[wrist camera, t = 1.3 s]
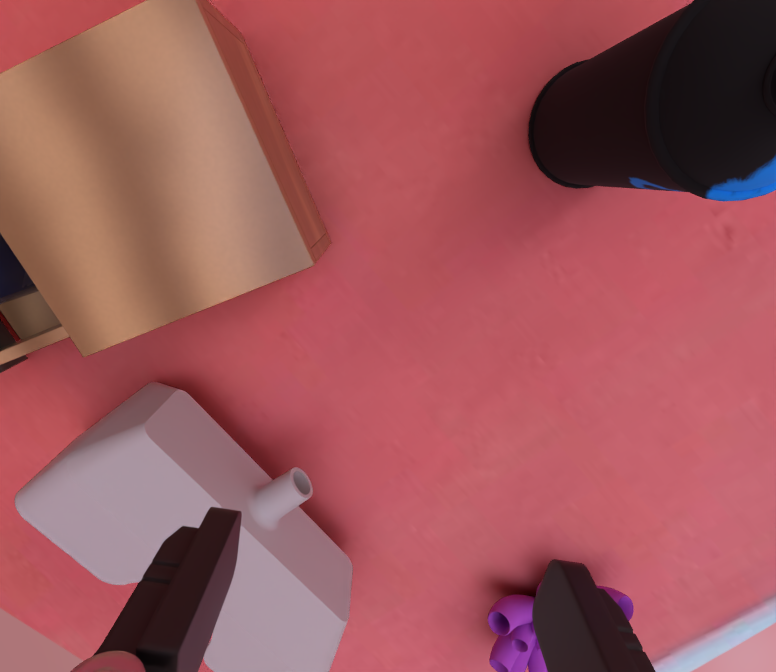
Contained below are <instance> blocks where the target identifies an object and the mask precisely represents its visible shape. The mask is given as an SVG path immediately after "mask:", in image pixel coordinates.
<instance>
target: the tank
mask: <svg viewBox="0 0 776 672" xmlns="http://www.w3.org/2000/svg"><path fill="white" fill-rule="evenodd" d="M312 494H313V488H312V484H311V481H310V479H309V477H308V476H307V474H306V473H305V472H304V471H303V470H302V469H300V468H298V467H294V468H292V469H291V470H289V471H287V472H286V473H284V474H282V475H281V476H279V477H277V478H276V479H274V480H272V479H271V478H270V477H269V476H268V474H267V473H266V472H265V471H264V470H263V469H262V468H261V467H260V466H259V465H258V464H257V463H256V462H255V461H254V460H253V459H252V458H251V457H250V456H249V455H248V454H247V453H246V452H245V451H244V450H243V449H242V448H241V447H240V446H239V445H238V444H237V443H236V442H235V441H234V440H233V439H232V438H231V437H230V436H229V435H228V434H227V433H226V432H225V431H224V430H223V429H222V428H221V427H220V426H219V425H218V424H217V423H216V421H215V420H214V419H213V418H212V417H211V416H210V415H209V414H208V413H207V412H206V411H205V410H204V409H203V408H202V407H201V406H200V405H199V404H198V403H197V402H196V401H195V400H194V399H193V398H192V397H191V396H190V395H189V394H188V393H187V392H185V391H183V390H180V389H177V388H174V387H171V386H168V385H165V384H162V383H159V382H150V383H148V384H147V385H145V386H144V387H143V388H141V389H140V390H139V391H137V392H136V393H135V394H133V395H132V396H131V397H129V398H128V399H127V400H126V401H124V402H123V403H122V404H120V405H119V406H118V407H116V408H115V409H114V410H112V411H111V412H110V413H108V414H107V415H106V416H105V417H103V418H102V419H101V420H99V421H98V422H97V423H95V424H94V425H93V426H91V427H90V428H89V429H87V430H86V431H85V432H84V433H82V434H81V435H80V436H78V437H77V438H76V439H75V440H74V441H72V442H71V443H70V444H69V445H68V446H67V447H66V448H65V449H64V450H63V451H62V452H61V453H59V454H58V455H57V456H56V457H55V458H54V459H53V460H52V461H51V462H50V463H49V464H47V465H46V466H45V467H44V468H43V469H42V470H41V471H40V472H39V473H38V474H37V475H36V476H34V477H33V478H32V479H31V480H30V481H29V482H28V483H27V484H26V485H25V486H24V487H23V488H21V489H20V490H19V491H18V492H17V494H16V496H15V506H16V509H17V511H18V512H19V514H20V515H21V516H22V517H23V518H24V519H25V520H26V521H27V522H28V523H30V524H31V525H32V526H33V527H35V528H36V529H37V530H38V531H40V532H41V533H42V534H43V535H45V536H46V537H47V538H48V539H50V540H51V541H52V542H53V543H55V544H56V545H57V546H58V547H60V548H61V549H62V550H63V551H65V552H66V553H67V554H68V555H70V556H71V557H72V558H73V559H75V560H76V561H77V562H78V563H79V564H81V565H82V566H83V567H84V568H86V569H87V570H88V571H89V572H91V573H92V574H93V575H94V576H96V577H97V578H98V579H100V580H101V581H103V582H106V583H109V584H114V585H124V584H129V583H135V582H140V581H141V580H142V578H143V575H144V573H145V572H146V570H147V568H148V567H149V565H150V564H151V563H152V560H153V558H154V557H155V555H156V553H157V552H158V550H159V548H160V547H161V545H162V543H163V542H164V541H165V540H166V539H167V538H168V537H170V536H171V535H172V534H173V533H174V532H176V531H177V530H178V529H179V528H181V527H182V526H188V527H195V528H199V527H200V525H201V523H202V521H203V519H204V517H205V515H206V514H207V512H208V510H209V509H210V507H218V508H224V509H231V510H237V511H241V512H242V518H241V527H240V537H239V546H238V556H237V562H236V567H235V571H234V575H233V579H232V582H231V585H230V588H229V590H228V593H227V596H226V598H225V601H224V604H223V606H222V609H221V612H220V614H219V617H218V620H217V622H216V625H215V628H214V630H213V635H212V639H211V641H210V642H209V644H208V646H207V649H206V651H205V654H204V661H205V663H206V665H207V666H208V667H209V668H210V669H212V670H213V671H214V672H329V670H330V668H331V665H332V662H333V660H334V657H335V654H336V651H337V649H338V646H339V643H340V640H341V638H342V635H343V632H344V630H345V627H346V624H347V621H348V619H349V611H350V598H351V586H352V574H353V566H352V563H351V561H350V559H349V557H348V556H347V555H346V554H345V553H344V552H343V551H342V550H341V549H340V548H339V547H338V546H337V545H336V544H335V543H334V542H333V541H332V540H331V539H330V538H329V537H328V536H327V535H326V534H325V533H324V532H323V531H322V530H321V529H320V528H319V526H318V525H317V524H316V523H315V522H314V521H313V520H312V519H311V518H310V517H309V516H308V515H307V514H306V513H305V512H304V511H303V510H302V509H301V508H300V507H299V505H300V504H302V503H303V502H305V501H306V500H308V499H309V498H310V497H311V496H312Z"/></svg>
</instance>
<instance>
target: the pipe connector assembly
mask: <svg viewBox="0 0 776 672" xmlns="http://www.w3.org/2000/svg"><path fill="white" fill-rule="evenodd" d="M541 582H542V581H541ZM541 582H540V584H539V585H538V587H537V592H538V590H539V587H540V585H541ZM596 587H597V588H601V589H604V590H605V591H606V592H607V593H608V594H609V595H610V596H611V597H612V598H613V600H614V601H615V602H616V603H617V604H618V605H619V606H620V607H621V608H622V610H623V612H624V614H625V616H626V618H627V620H628V621H629V620H630V619H631V617H632V615H633V603H632V601H631V599H630V598H629V597H628V596H627V595H625V594H623V593H621V592H619V591H617V590H614V589H612V588H608V587H604V586H596ZM537 592H536V595H537ZM534 600H535V597H532V596H526V595H510V596H506V597H503V598H501V599H500V600H499V601H497V602H496V603H495V604H494V605H493V607H492V608H491V610H490V612H489V614H488V624H489V626H490V628H491V629H492V631H493V632H494V633H496V634H498V635H499V636H498V638H497V640H496V642H495V644H494V646H493V649H492V652H491V655H490V664H491V666H492V667H493V668H494V669H495V670H496V671H498V672H525V670H526V668H527V665H528V669H529V672H548V671H547V667H546V664H545V661H544V658H543V655H542V652H541V649H540V646H539V643H538V640H537V637H536V633H535V630H534V626H533V619H532V609H533V603H534Z"/></svg>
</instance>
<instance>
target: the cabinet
mask: <svg viewBox="0 0 776 672" xmlns="http://www.w3.org/2000/svg"><path fill="white" fill-rule="evenodd" d="M0 233H1V235H2V236H3V238H4V239H5V241H6V242H7V244H8V245H9V247H10V248H11V250H12V251H13V253H14V254H15V256H16V257H17V259H18V260H19V262H20V263H21V265H22V266H23V268H24V269H25V271H26V272H27V274H28V275H29V277H30V278H31V280H32V281H33V283H34V284H35V286H36V287H37V289H38V290H39V292H40V293H41V295H42V296H43V298H44V299H45V301H46V302H47V304H48V305H49V307H50V308H51V310H52V311H53V313H54V314H55V316H56V317H57V319H58V320H59V322H60V323H61V325H62V326H63V328H64V329H65V331H66V332H67V334H68V335H69V337H70V338H71V340H72V341H73V343H74V344H75V346H76V347H77V349H78V350H79V352H80V353H81V355H82V356H83V357H86V356H89V355H91V354H94V353H96V352H99V351H101V350H104V349H106V348H109V347H111V346H114V345H116V344H119V343H121V342H124V341H126V340H129V339H132V338H134V337H137V336H139V335H142V334H144V333H147V332H149V331H152V330H154V329H157V328H159V327H162V326H164V325H167V324H169V323H172V322H174V321H177V320H179V319H182V318H184V317H187V316H189V315H192V314H194V313H197V312H199V311H202V310H204V309H207V308H209V307H212V306H214V305H217V304H219V303H222V302H224V301H227V300H229V299H232V298H234V297H237V296H239V295H242V294H245V293H247V292H250V291H252V290H255V289H257V288H260V287H262V286H265V285H267V284H270V283H272V282H275V281H277V280H280V279H282V278H285V277H287V276H290V275H292V274H295V273H297V272H300V271H302V270H305V269H307V268H310V267H312V266H314V265H315V264H316V262H317V261H318V260H319V258H320V257H321V256H322V254H323V253H324V252H325V251H326V249H327V248H328V247H329V245H330V244H331V241H330V239H329V236H328V234H327V232H326V229H325V227H324V225H323V222H322V220H321V218H320V215H319V213H318V211H317V208H316V206H315V204H314V201H313V199H312V197H311V194H310V192H309V190H308V187H307V185H306V183H305V180H304V178H303V176H302V173H301V171H300V169H299V166H298V164H297V162H296V159H295V157H294V155H293V152H292V150H291V148H290V145H289V143H288V141H287V138H286V136H285V134H284V131H283V129H282V127H281V124H280V122H279V120H278V118H277V115H276V113H275V111H274V108H273V106H272V104H271V101H270V99H269V97H268V94H267V92H266V90H265V87H264V85H263V83H262V80H261V78H260V76H259V73H258V71H257V69H256V66H255V64H254V62H253V59H252V57H251V55H250V52H249V50H248V48H247V45H246V43H245V41H244V38H243V36H242V34H241V32H239V31H238V30H237V28H236V27H235V26H233V25H232V24H231V23H230V22H229V21H228V20H227V19H226V18H225V17H224V16H223V15H222V14H221V13H220V12H219V11H218V10H217V9H216V8H215V7H214V6H213V5H211V4H210V3H209V2H208V1H207V0H146V1H144V2H142V3H140V4H138V5H136V6H134V7H132V8H130V9H128V10H126V11H124V12H122V13H120V14H118V15H116V16H114V17H112V18H110V19H108V20H106V21H104V22H102V23H100V24H98V25H96V26H94V27H92V28H90V29H88V30H86V31H84V32H82V33H80V34H78V35H76V36H74V37H72V38H70V39H68V40H66V41H64V42H62V43H60V44H58V45H56V46H54V47H52V48H50V49H48V50H46V51H44V52H42V53H40V54H38V55H36V56H34V57H32V58H30V59H28V60H26V61H24V62H22V63H20V64H18V65H16V66H14V67H12V68H10V69H8V70H6V71H4V72H2V73H0Z"/></svg>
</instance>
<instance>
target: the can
mask: <svg viewBox="0 0 776 672" xmlns="http://www.w3.org/2000/svg"><path fill="white" fill-rule="evenodd" d="M38 291H39V290H38V289H37V287H36V286H35V284H34V283H33V281H32V280H31V278H30V277H29V275H28V274H27V272H26V271H25V269H24V268H23V266H22V265H21V263H20V262H19V260H18V259H17V257H16V256H15V254H14V253H13V251H12V250H11V248H10V247H9V245H8V244H7V242H6V241H5V239H4V238H3V236H2V235H1V233H0V304H3V303H6V302H9V301H11V300H14V299H17V298H20V297H23V296H26V295H29V294H32V293H35V292H38Z"/></svg>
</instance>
